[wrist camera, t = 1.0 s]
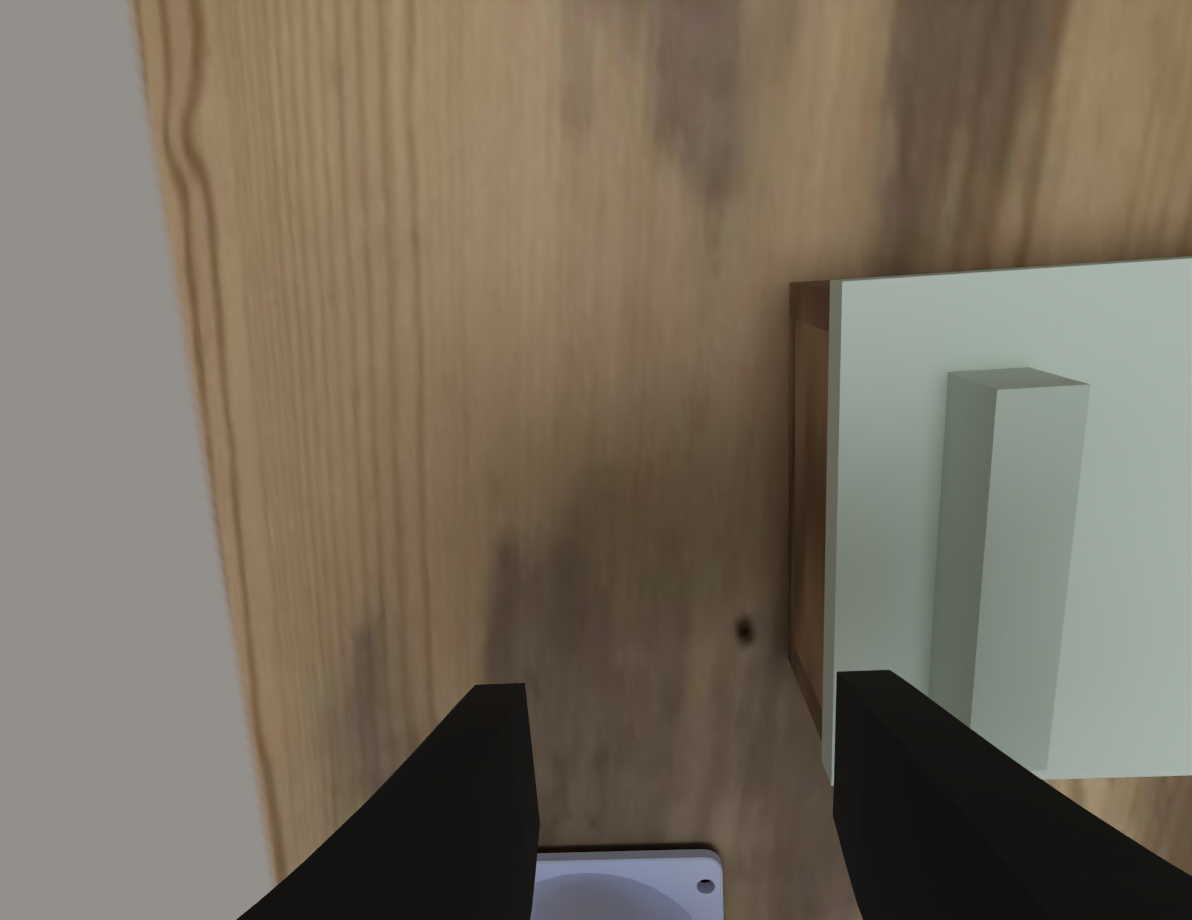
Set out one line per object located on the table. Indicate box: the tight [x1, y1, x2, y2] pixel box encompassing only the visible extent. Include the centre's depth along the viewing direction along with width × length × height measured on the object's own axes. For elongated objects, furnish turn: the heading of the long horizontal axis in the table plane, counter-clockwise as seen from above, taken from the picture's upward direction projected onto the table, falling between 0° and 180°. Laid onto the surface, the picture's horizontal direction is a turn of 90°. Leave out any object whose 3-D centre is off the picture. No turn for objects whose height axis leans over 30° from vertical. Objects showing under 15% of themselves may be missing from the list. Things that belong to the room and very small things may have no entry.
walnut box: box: [789, 280, 830, 741], centre depth 17 cm, size 10×12×4 cm
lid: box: [822, 256, 1192, 786], centre depth 13 cm, size 10×12×3 cm
